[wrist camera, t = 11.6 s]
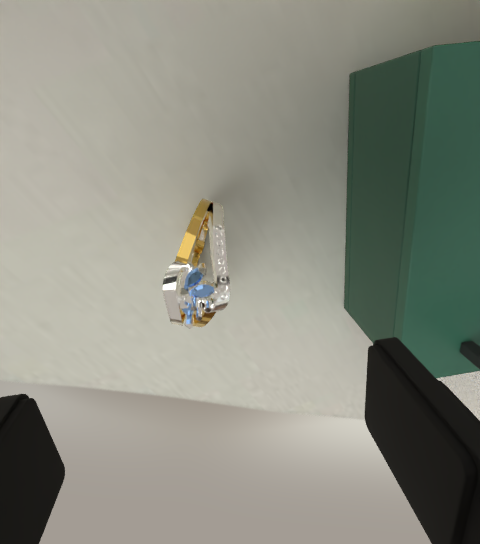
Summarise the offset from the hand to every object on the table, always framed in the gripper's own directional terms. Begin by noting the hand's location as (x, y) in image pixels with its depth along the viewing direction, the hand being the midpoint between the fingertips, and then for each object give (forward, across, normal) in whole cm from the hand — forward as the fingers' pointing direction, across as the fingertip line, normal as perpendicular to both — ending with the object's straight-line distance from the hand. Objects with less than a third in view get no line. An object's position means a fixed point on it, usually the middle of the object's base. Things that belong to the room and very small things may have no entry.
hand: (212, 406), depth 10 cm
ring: (+14, +1, 0) cm, 15 cm away
